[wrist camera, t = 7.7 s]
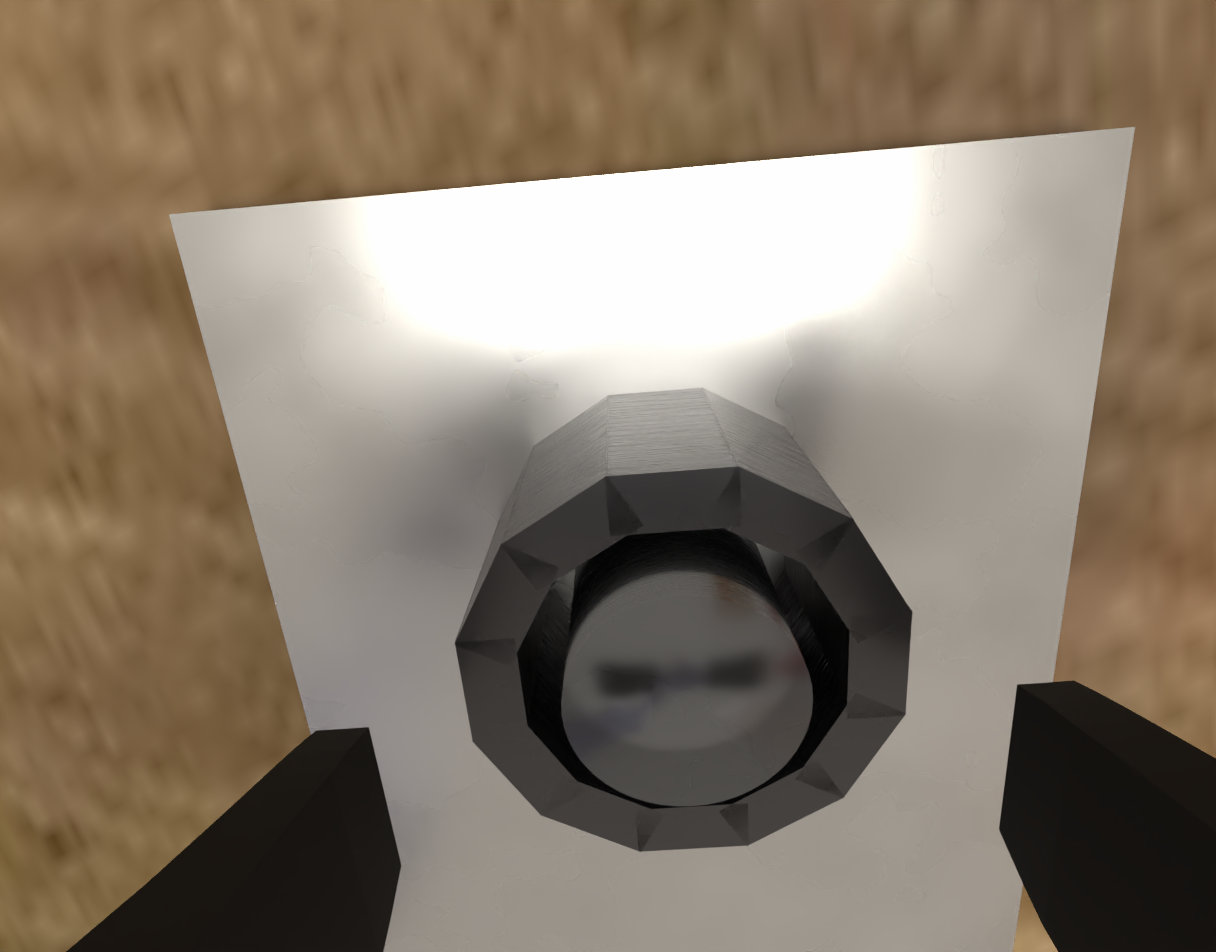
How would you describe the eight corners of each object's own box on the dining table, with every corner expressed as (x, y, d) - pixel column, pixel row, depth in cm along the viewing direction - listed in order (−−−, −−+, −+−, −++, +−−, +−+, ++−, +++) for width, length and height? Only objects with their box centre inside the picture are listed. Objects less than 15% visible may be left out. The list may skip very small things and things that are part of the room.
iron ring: (523, 694, 15) (493, 860, 11) (480, 404, 13) (425, 489, 9) (825, 675, 15) (897, 838, 11) (832, 376, 13) (923, 451, 9)
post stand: (416, 1028, 20) (343, 1335, 15) (208, 212, 13) (-88, 223, 7) (976, 1002, 20) (1114, 1310, 14) (1087, 133, 12) (1459, 81, 7)
